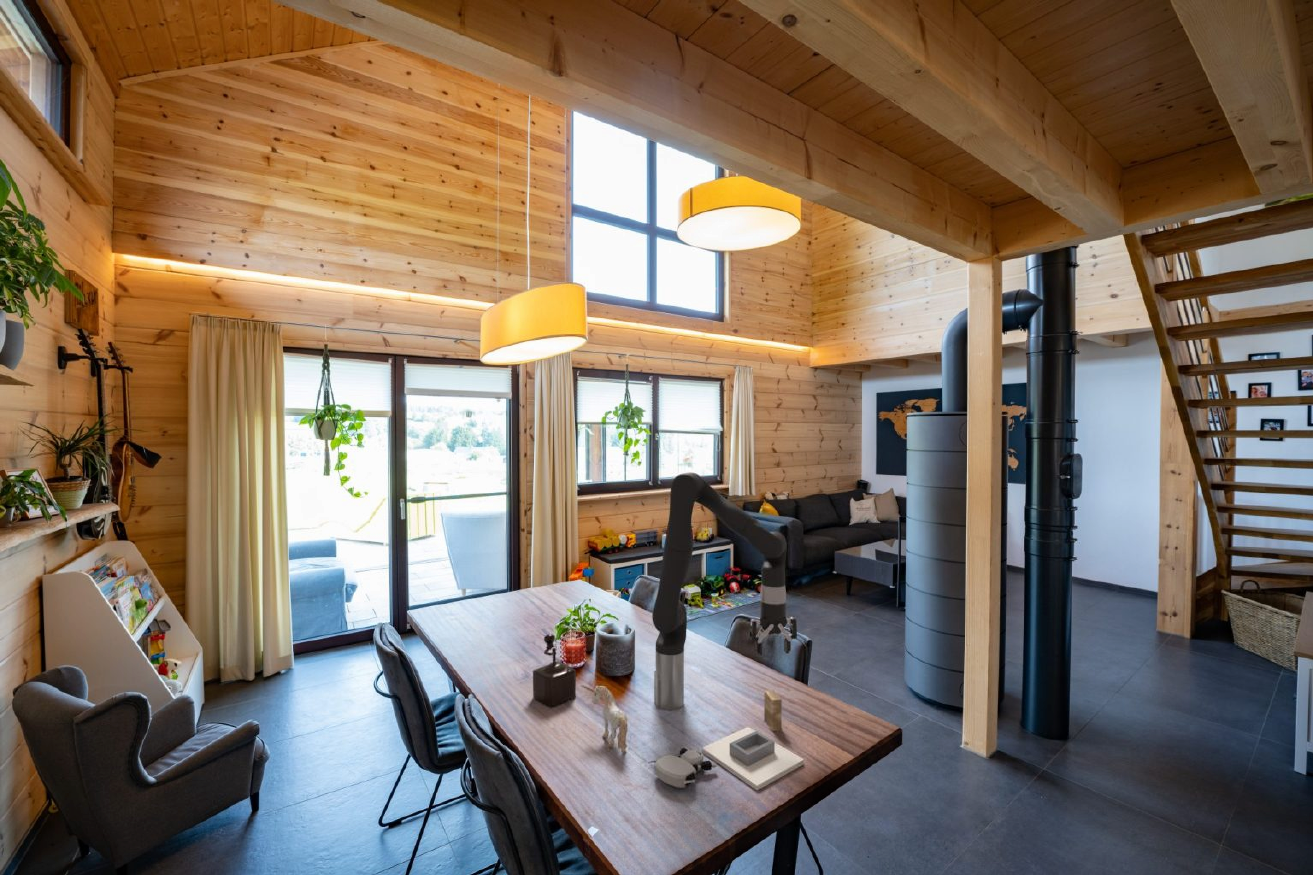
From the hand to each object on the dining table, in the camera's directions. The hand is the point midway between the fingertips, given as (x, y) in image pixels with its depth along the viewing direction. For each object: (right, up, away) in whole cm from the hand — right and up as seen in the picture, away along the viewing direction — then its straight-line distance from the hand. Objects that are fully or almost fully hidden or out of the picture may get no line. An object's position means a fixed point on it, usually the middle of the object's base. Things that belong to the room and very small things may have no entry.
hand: (773, 653), depth 162 cm
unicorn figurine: (-50, -21, -10) cm, 55 cm away
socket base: (-9, -21, -17) cm, 29 cm away
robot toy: (-28, -22, -24) cm, 43 cm away
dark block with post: (-70, -21, +18) cm, 76 cm away
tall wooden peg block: (0, -21, 0) cm, 21 cm away
